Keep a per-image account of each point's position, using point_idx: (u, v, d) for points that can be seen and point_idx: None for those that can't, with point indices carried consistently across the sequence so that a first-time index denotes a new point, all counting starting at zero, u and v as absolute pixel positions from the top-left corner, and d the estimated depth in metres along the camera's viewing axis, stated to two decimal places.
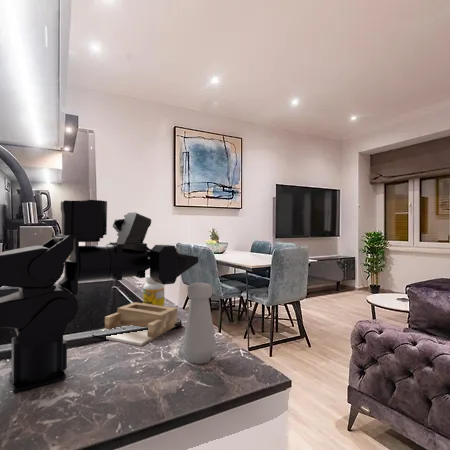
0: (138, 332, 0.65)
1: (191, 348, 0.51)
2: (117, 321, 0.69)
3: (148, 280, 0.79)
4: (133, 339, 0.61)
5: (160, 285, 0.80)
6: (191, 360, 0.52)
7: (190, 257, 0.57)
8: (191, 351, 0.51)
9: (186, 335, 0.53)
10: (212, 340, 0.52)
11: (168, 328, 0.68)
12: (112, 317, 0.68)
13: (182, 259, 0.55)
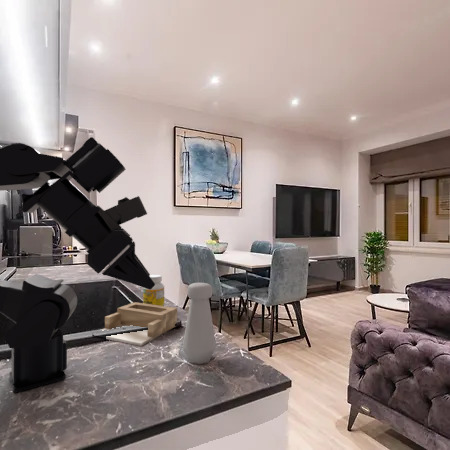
0: (138, 332, 0.65)
1: (191, 348, 0.51)
2: (117, 321, 0.69)
3: None
4: (133, 339, 0.61)
5: (160, 285, 0.80)
6: (191, 360, 0.52)
7: (145, 275, 0.46)
8: (191, 351, 0.51)
9: (186, 335, 0.53)
10: (212, 340, 0.52)
11: (168, 328, 0.68)
12: (112, 317, 0.68)
13: (135, 268, 0.45)
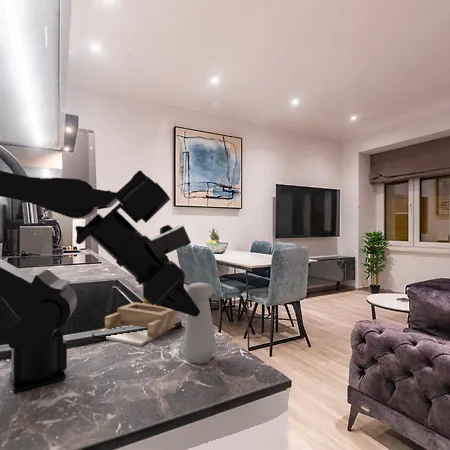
0: (138, 332, 0.65)
1: (191, 348, 0.51)
2: (117, 321, 0.69)
3: None
4: (133, 339, 0.61)
5: None
6: (191, 360, 0.52)
7: (192, 303, 0.48)
8: (191, 351, 0.51)
9: (186, 335, 0.53)
10: (212, 340, 0.52)
11: (168, 328, 0.68)
12: (112, 317, 0.68)
13: (183, 297, 0.47)
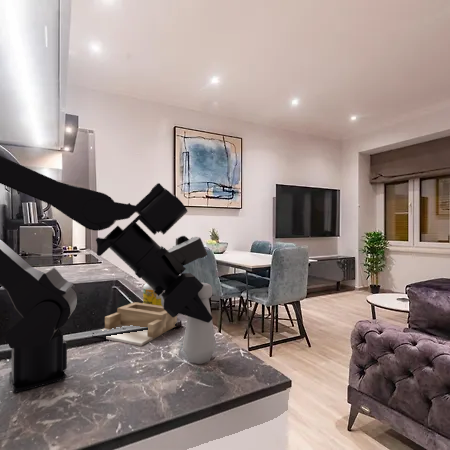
0: (138, 332, 0.65)
1: (191, 348, 0.51)
2: (117, 321, 0.69)
3: None
4: (133, 339, 0.61)
5: None
6: (191, 360, 0.52)
7: (205, 310, 0.51)
8: (191, 351, 0.51)
9: (186, 335, 0.53)
10: (212, 340, 0.52)
11: (168, 328, 0.68)
12: (112, 317, 0.68)
13: (197, 304, 0.51)
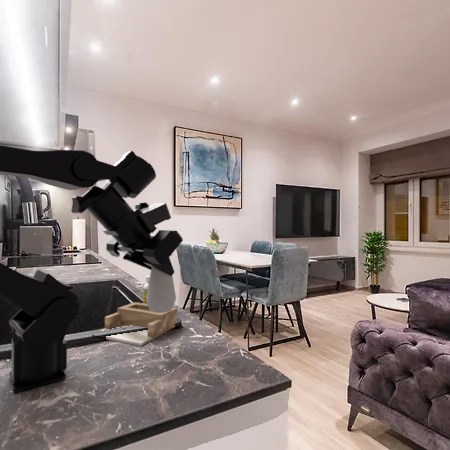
0: (138, 332, 0.65)
1: (159, 298, 0.59)
2: (117, 321, 0.69)
3: (148, 280, 0.79)
4: (133, 339, 0.61)
5: None
6: (157, 310, 0.59)
7: (170, 265, 0.60)
8: (159, 301, 0.59)
9: (152, 289, 0.59)
10: (174, 291, 0.61)
11: (168, 328, 0.68)
12: (112, 317, 0.68)
13: None
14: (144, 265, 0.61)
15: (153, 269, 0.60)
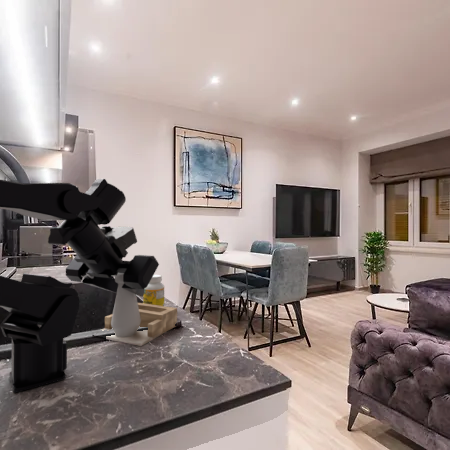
0: (138, 332, 0.65)
1: (127, 324, 0.61)
2: None
3: None
4: (133, 339, 0.61)
5: (160, 285, 0.80)
6: (125, 335, 0.62)
7: None
8: (128, 326, 0.61)
9: (120, 315, 0.61)
10: (139, 314, 0.65)
11: (168, 328, 0.68)
12: None
13: None
14: (105, 287, 0.63)
15: (119, 296, 0.62)
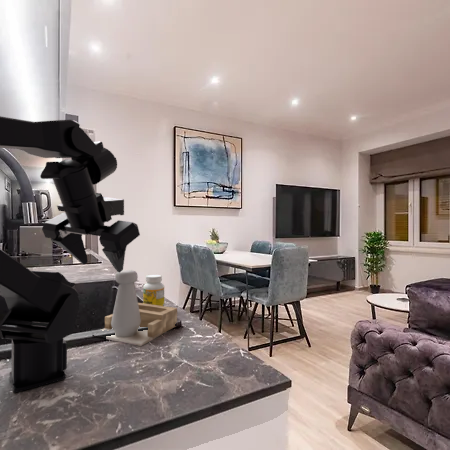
0: (138, 332, 0.65)
1: (128, 324, 0.61)
2: None
3: (148, 280, 0.79)
4: (133, 339, 0.61)
5: (160, 285, 0.80)
6: (125, 335, 0.62)
7: (123, 260, 0.59)
8: (128, 326, 0.61)
9: (120, 315, 0.61)
10: (139, 314, 0.65)
11: (168, 328, 0.68)
12: None
13: (121, 253, 0.58)
14: (72, 251, 0.61)
15: (120, 296, 0.62)
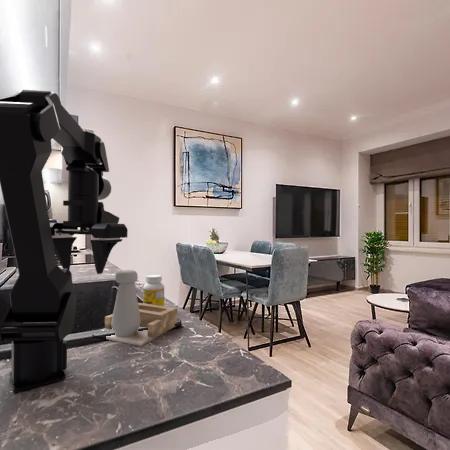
0: (138, 332, 0.65)
1: (128, 324, 0.61)
2: None
3: (148, 280, 0.79)
4: (133, 339, 0.61)
5: (160, 285, 0.80)
6: (125, 335, 0.62)
7: (105, 262, 0.63)
8: (128, 326, 0.61)
9: (120, 315, 0.61)
10: (139, 314, 0.65)
11: (168, 328, 0.68)
12: None
13: (105, 253, 0.62)
14: (59, 252, 0.65)
15: (120, 296, 0.62)
